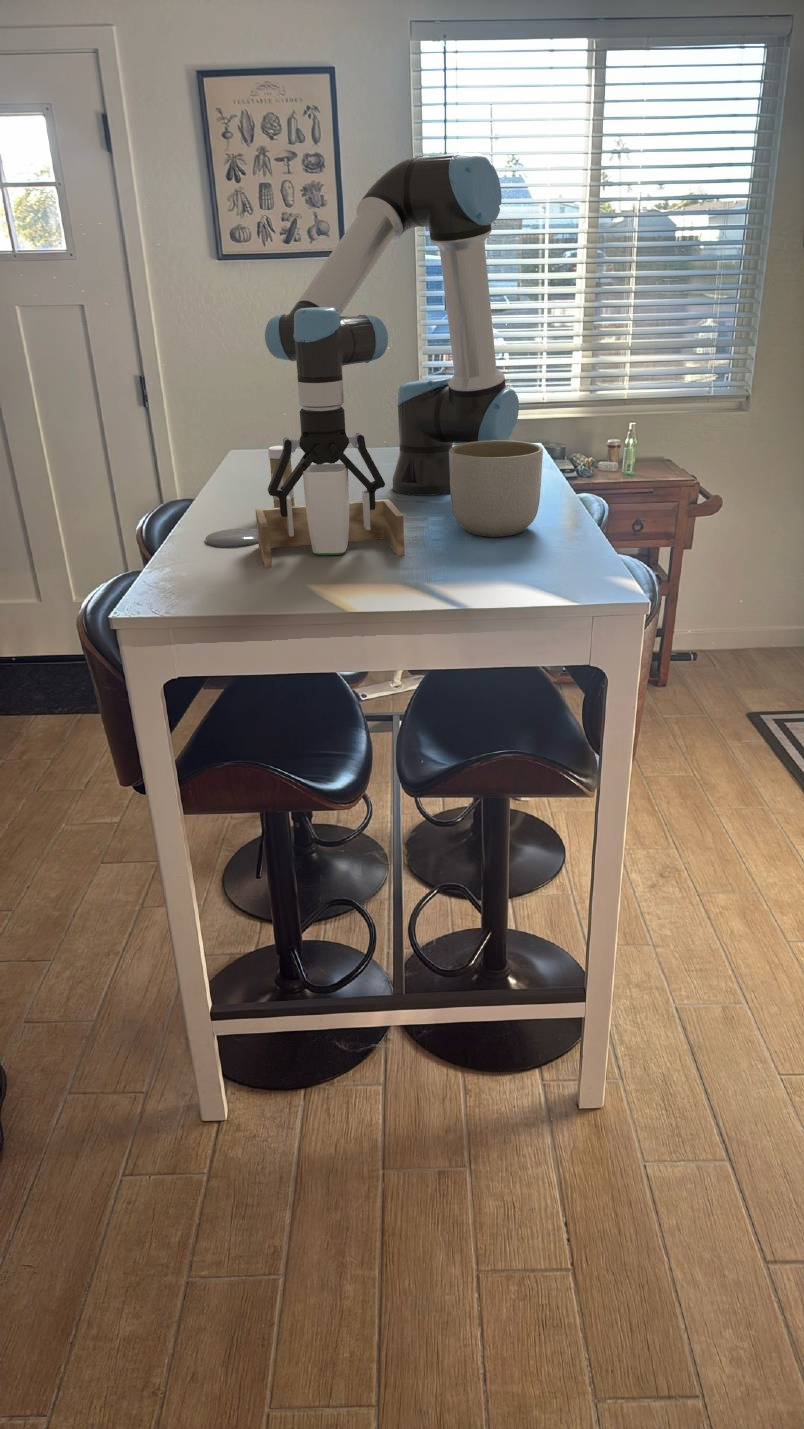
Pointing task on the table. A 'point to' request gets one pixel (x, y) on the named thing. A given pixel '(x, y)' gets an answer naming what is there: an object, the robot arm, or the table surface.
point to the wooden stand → (382, 523)
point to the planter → (495, 486)
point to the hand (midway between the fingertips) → (329, 531)
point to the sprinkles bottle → (274, 459)
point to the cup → (327, 507)
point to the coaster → (233, 538)
